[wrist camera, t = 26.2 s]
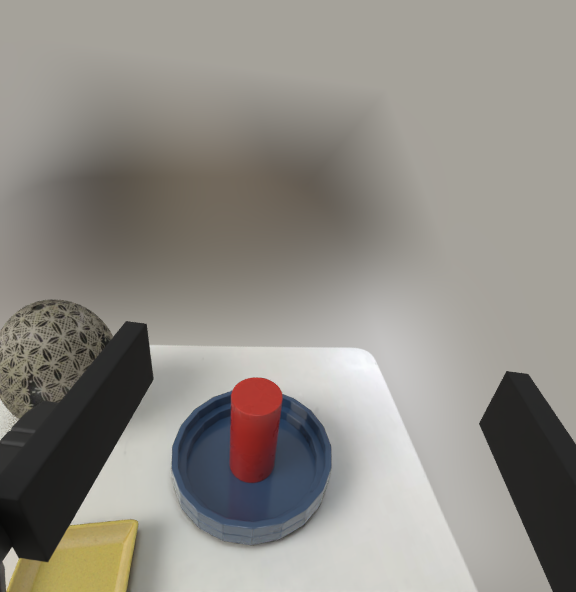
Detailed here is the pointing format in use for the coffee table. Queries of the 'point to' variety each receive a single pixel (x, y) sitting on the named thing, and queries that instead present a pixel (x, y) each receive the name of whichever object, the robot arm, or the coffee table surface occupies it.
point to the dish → (241, 495)
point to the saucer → (82, 561)
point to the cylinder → (254, 428)
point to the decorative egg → (47, 352)
